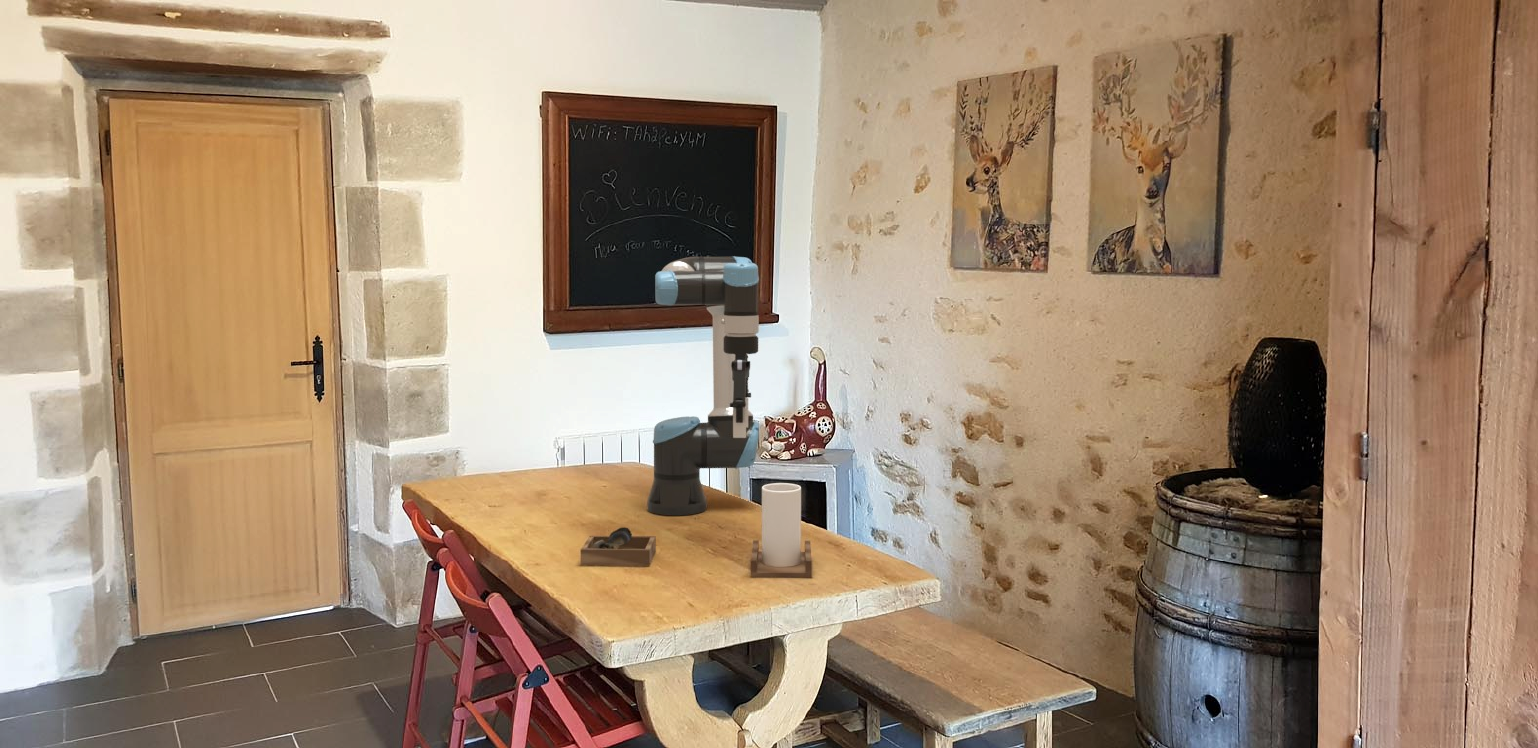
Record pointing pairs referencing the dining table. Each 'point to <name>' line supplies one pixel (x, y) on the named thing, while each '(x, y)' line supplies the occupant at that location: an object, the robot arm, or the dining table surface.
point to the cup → (781, 524)
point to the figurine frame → (620, 552)
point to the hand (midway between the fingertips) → (740, 432)
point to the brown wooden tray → (781, 572)
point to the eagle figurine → (615, 539)
